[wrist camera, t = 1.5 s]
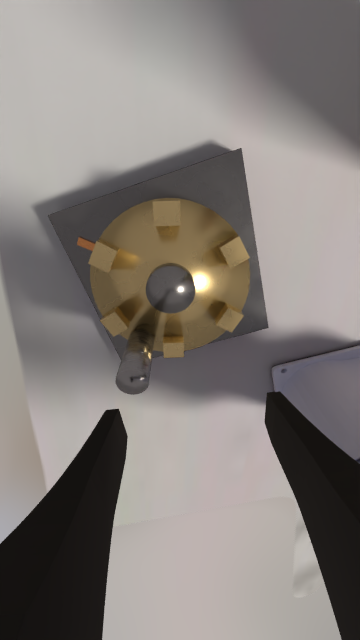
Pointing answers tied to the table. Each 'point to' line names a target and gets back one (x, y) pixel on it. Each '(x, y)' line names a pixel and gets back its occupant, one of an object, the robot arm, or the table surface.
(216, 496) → the table surface
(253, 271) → the base plate
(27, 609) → the robot arm
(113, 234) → the gold round piece
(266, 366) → the table surface
